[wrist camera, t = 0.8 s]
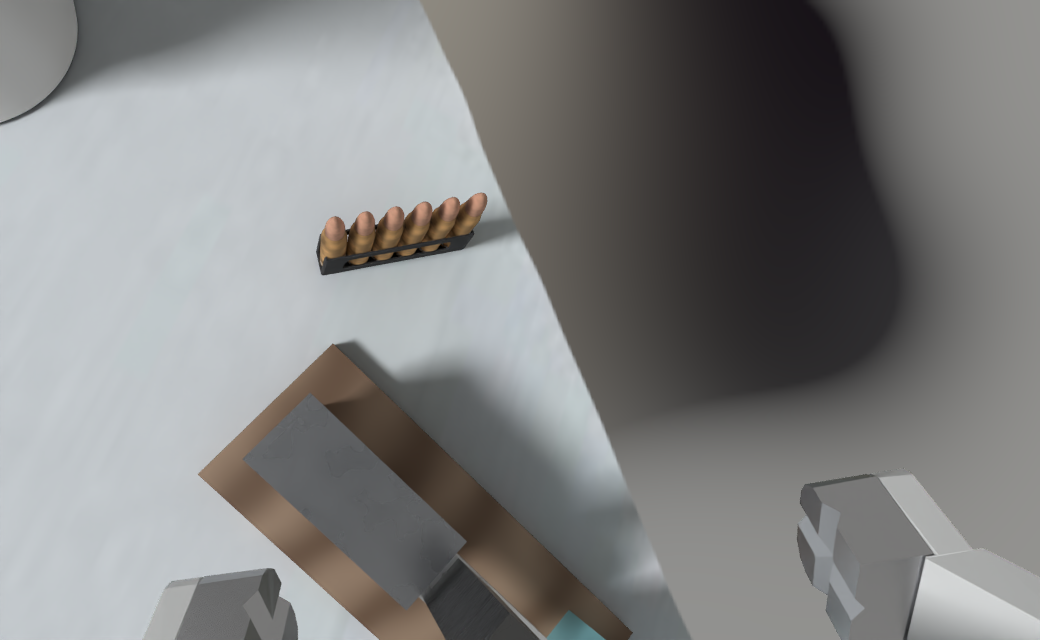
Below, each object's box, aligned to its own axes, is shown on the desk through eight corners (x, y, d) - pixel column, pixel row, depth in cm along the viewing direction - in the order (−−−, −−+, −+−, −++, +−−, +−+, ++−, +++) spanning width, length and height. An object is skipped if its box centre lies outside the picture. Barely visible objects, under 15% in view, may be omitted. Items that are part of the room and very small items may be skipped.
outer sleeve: (250, 453, 44) (242, 459, 39) (310, 394, 46) (310, 392, 41) (397, 589, 46) (406, 610, 41) (451, 527, 47) (466, 541, 42)
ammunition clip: (458, 225, 55) (495, 178, 44) (463, 249, 55) (502, 207, 44) (315, 250, 52) (315, 206, 41) (321, 275, 52) (322, 238, 41)
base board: (201, 472, 48) (187, 480, 43) (332, 345, 52) (334, 338, 46) (520, 763, 52) (543, 803, 46) (624, 626, 55) (657, 650, 50)
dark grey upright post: (278, 460, 44) (259, 486, 29) (317, 421, 45) (317, 428, 30) (499, 665, 46) (583, 785, 31) (532, 624, 47) (629, 722, 32)
